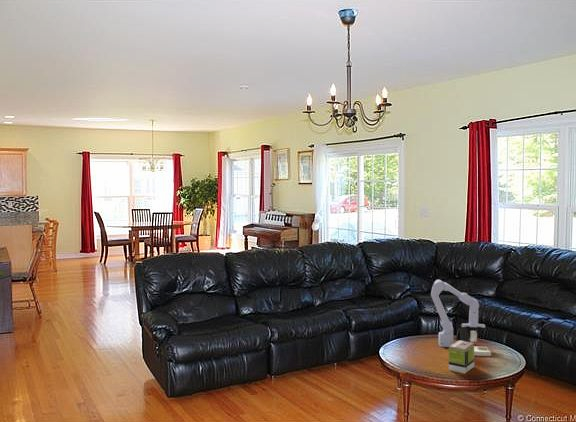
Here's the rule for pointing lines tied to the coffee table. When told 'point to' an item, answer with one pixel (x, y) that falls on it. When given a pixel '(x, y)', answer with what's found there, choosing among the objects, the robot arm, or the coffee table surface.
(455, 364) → the tea box
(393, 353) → the coffee table surface
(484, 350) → the socket board
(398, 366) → the coffee table surface
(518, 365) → the coffee table surface
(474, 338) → the aluminium peg
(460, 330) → the door stopper
